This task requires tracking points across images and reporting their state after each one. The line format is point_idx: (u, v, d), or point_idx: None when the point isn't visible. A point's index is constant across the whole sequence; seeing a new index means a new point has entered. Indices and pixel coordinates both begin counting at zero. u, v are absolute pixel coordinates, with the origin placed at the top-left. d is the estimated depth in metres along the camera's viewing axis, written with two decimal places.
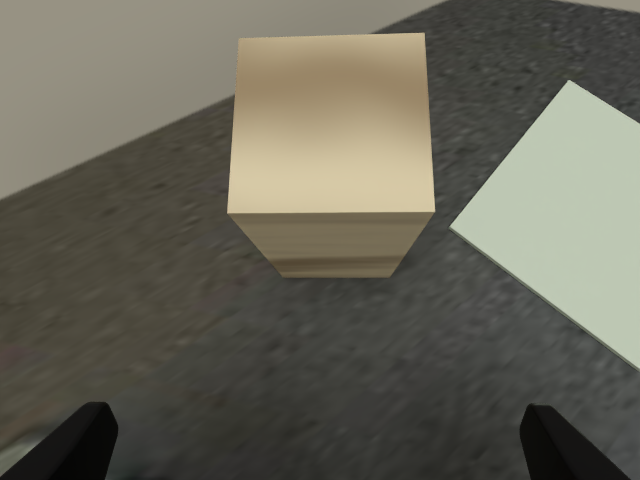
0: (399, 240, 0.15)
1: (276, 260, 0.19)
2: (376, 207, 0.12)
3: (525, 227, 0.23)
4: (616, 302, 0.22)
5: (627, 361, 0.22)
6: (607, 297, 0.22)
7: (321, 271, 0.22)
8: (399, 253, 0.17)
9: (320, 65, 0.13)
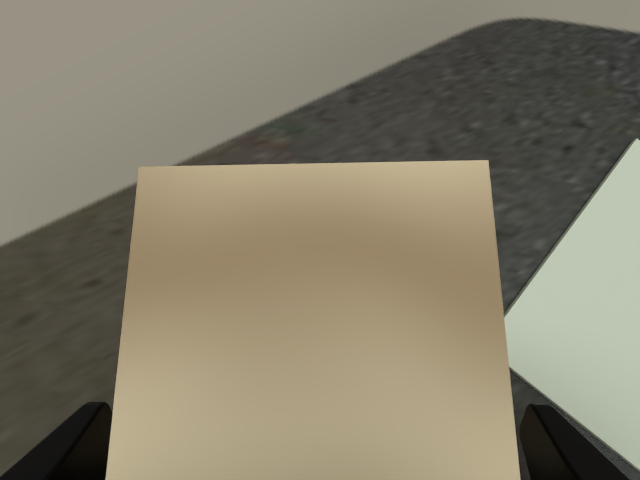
0: None
1: None
2: None
3: (587, 348, 0.17)
4: None
5: None
6: None
7: None
8: None
9: (291, 225, 0.07)
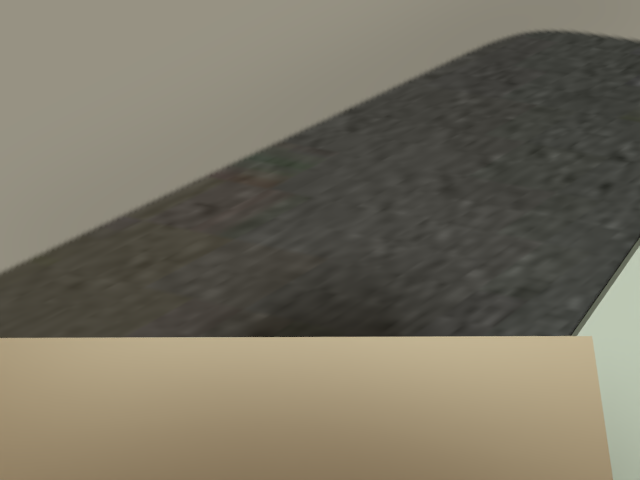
0: None
1: None
2: None
3: (635, 435, 0.14)
4: None
5: None
6: None
7: None
8: None
9: (247, 457, 0.04)
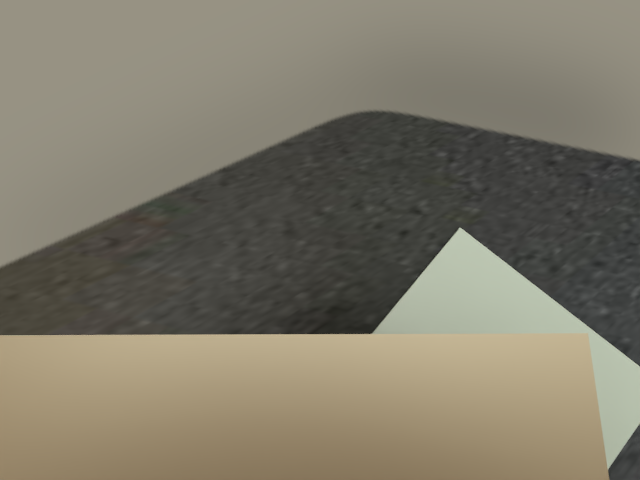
0: None
1: None
2: None
3: None
4: None
5: None
6: None
7: None
8: None
9: (244, 453, 0.04)
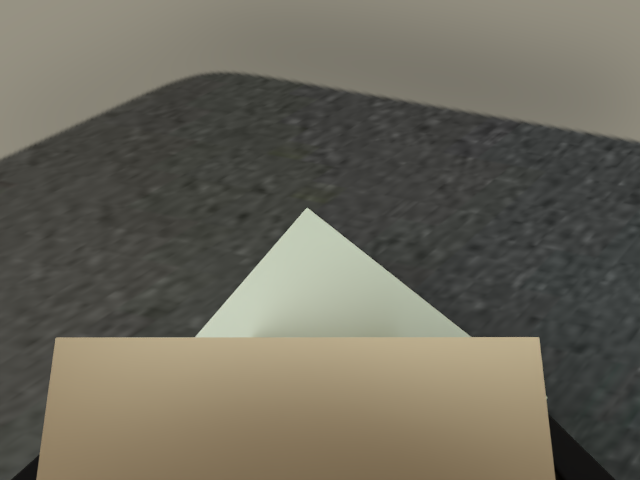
0: None
1: None
2: None
3: None
4: None
5: None
6: None
7: None
8: None
9: (263, 432, 0.05)
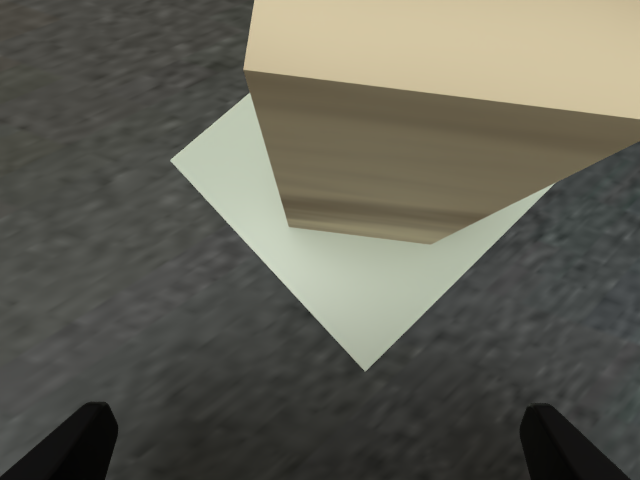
0: (516, 185, 0.09)
1: (292, 198, 0.13)
2: (556, 98, 0.06)
3: (266, 174, 0.18)
4: (354, 282, 0.17)
5: (351, 356, 0.17)
6: (345, 274, 0.17)
7: (346, 224, 0.16)
8: (487, 210, 0.11)
9: None
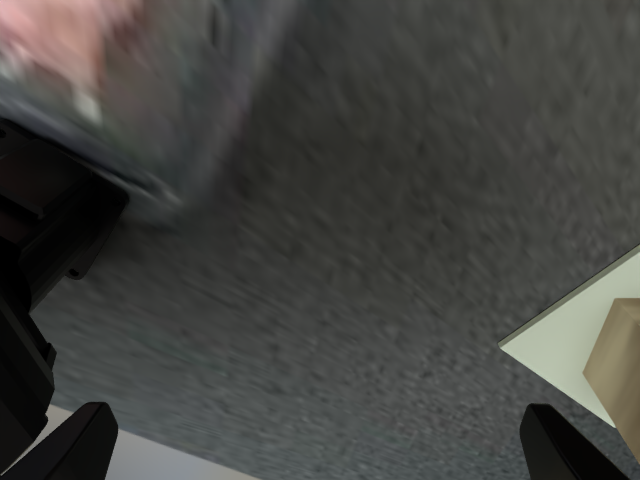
0: None
1: None
2: None
3: None
4: (563, 338, 0.25)
5: (509, 338, 0.25)
6: (569, 333, 0.24)
7: (621, 355, 0.23)
8: None
9: None
